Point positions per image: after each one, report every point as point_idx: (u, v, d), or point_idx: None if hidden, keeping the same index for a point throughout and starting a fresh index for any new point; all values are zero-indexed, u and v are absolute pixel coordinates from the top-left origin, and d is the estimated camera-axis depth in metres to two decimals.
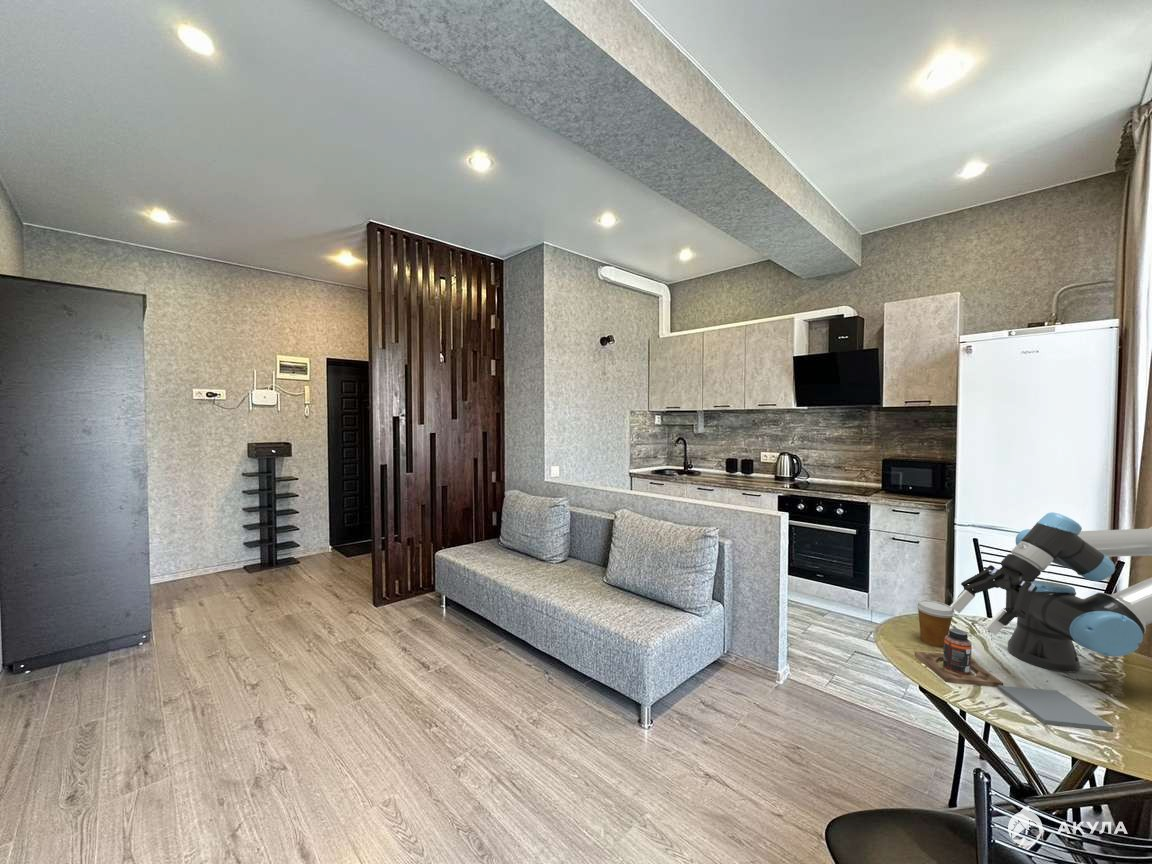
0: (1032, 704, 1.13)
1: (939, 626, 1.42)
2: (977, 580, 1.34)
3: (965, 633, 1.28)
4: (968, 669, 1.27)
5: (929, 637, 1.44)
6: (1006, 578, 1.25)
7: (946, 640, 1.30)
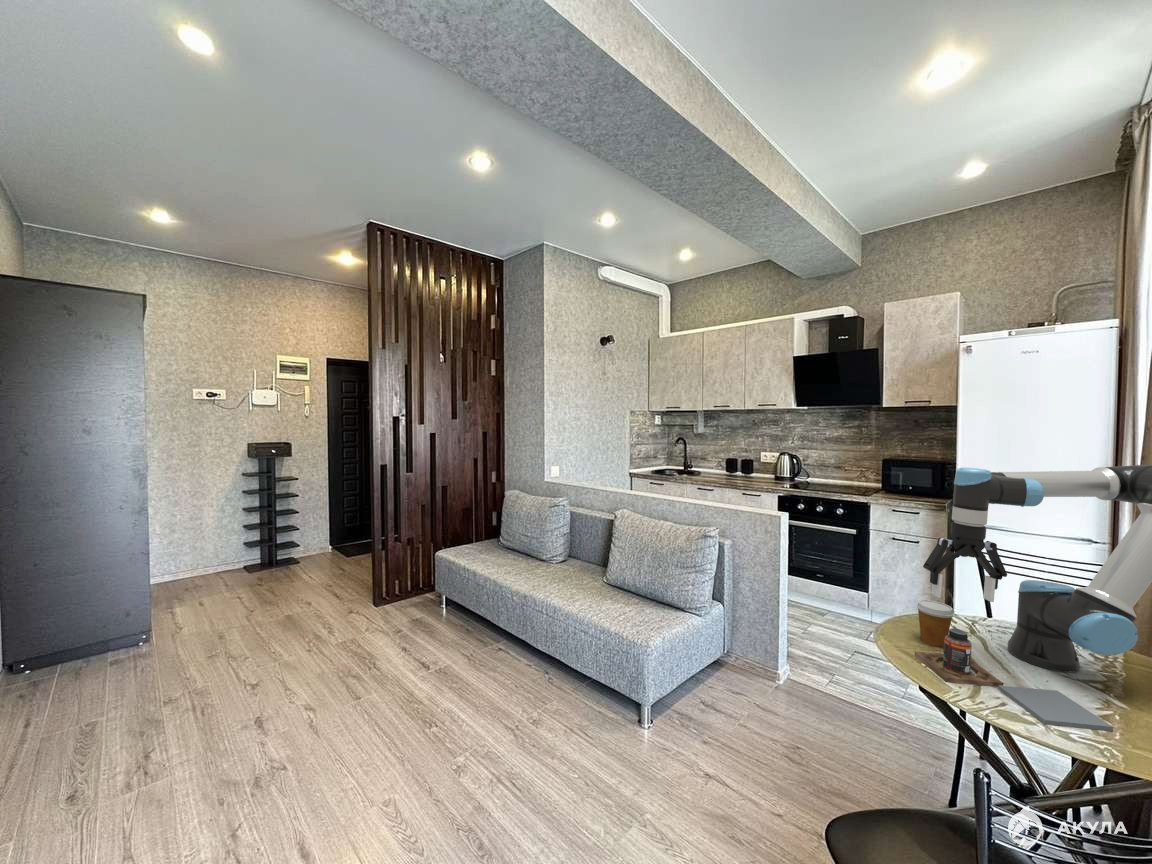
0: (1032, 704, 1.13)
1: (939, 626, 1.42)
2: (993, 561, 1.28)
3: (965, 633, 1.28)
4: (968, 669, 1.27)
5: (929, 637, 1.44)
6: None
7: (946, 640, 1.30)
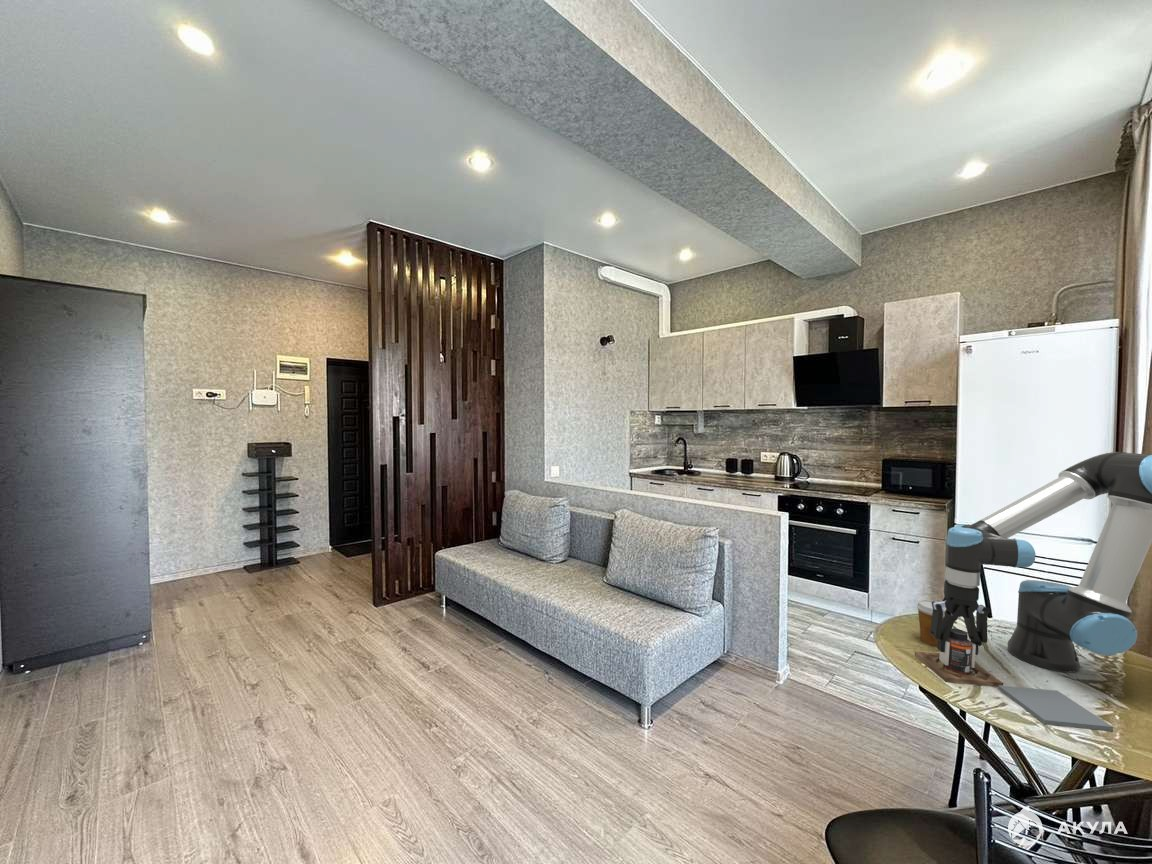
0: (1032, 704, 1.13)
1: None
2: (978, 625, 1.29)
3: (965, 633, 1.28)
4: (968, 669, 1.27)
5: (929, 637, 1.44)
6: None
7: None
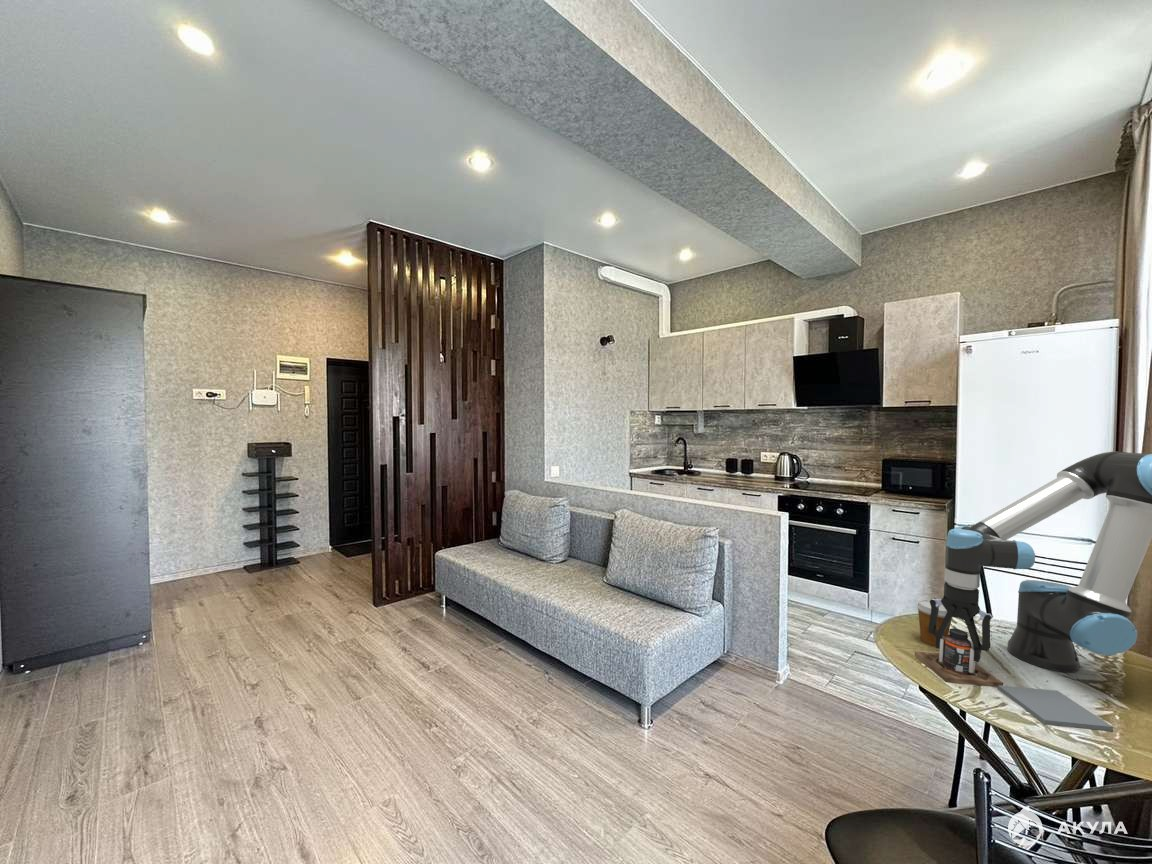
0: (1032, 704, 1.13)
1: (939, 626, 1.42)
2: None
3: (962, 633, 1.28)
4: (960, 669, 1.27)
5: (929, 637, 1.44)
6: None
7: (945, 637, 1.32)
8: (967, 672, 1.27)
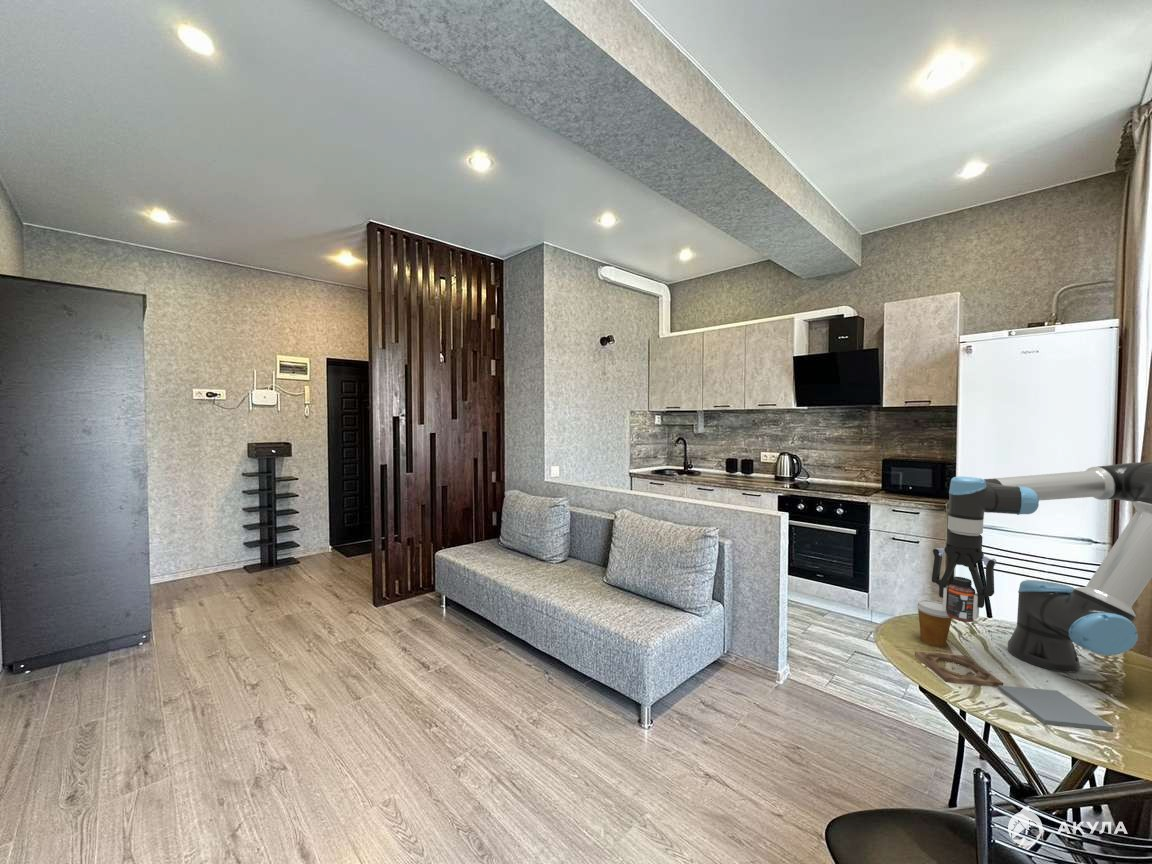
0: (1032, 704, 1.13)
1: (939, 626, 1.42)
2: None
3: (966, 580, 1.27)
4: (964, 616, 1.26)
5: (929, 637, 1.44)
6: None
7: (948, 586, 1.31)
8: (971, 619, 1.26)
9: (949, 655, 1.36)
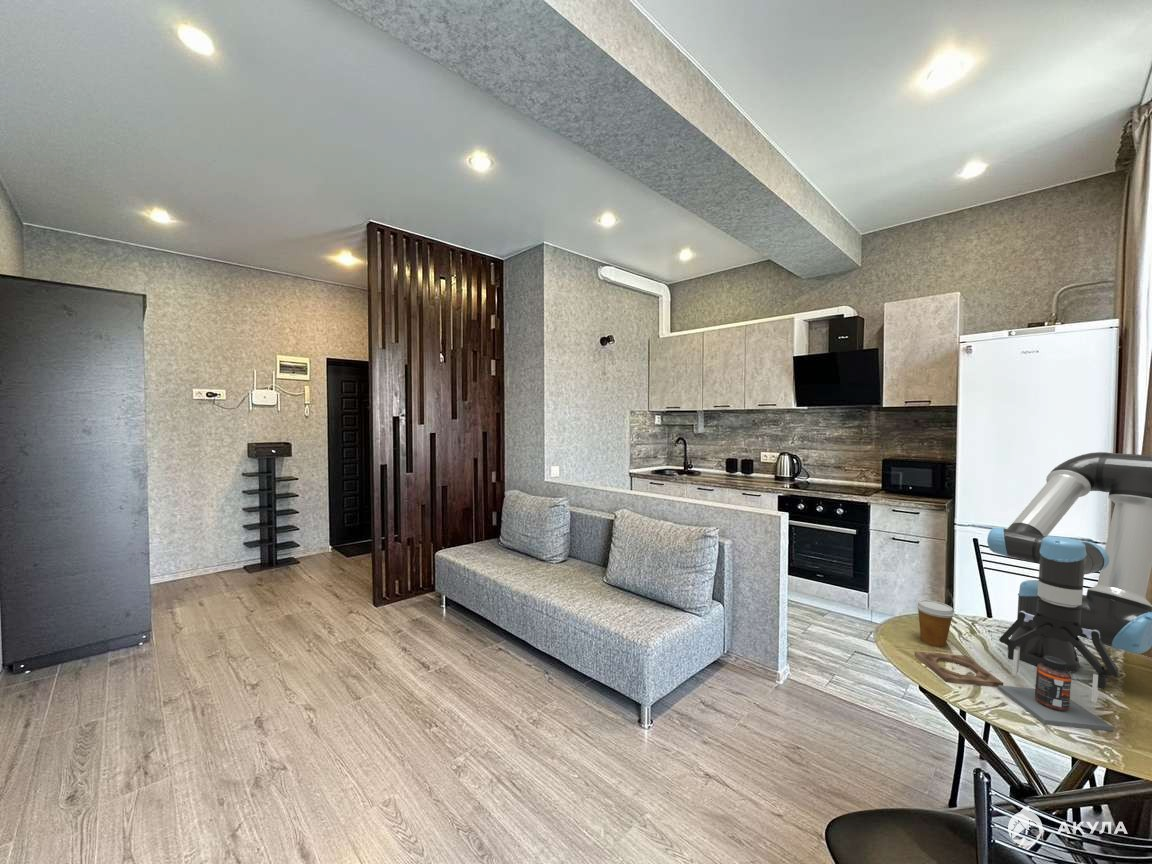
0: (1032, 704, 1.13)
1: (939, 626, 1.42)
2: None
3: (1060, 663, 1.11)
4: (1059, 703, 1.11)
5: (929, 637, 1.44)
6: None
7: (1037, 666, 1.15)
8: (1066, 707, 1.10)
9: (949, 655, 1.36)
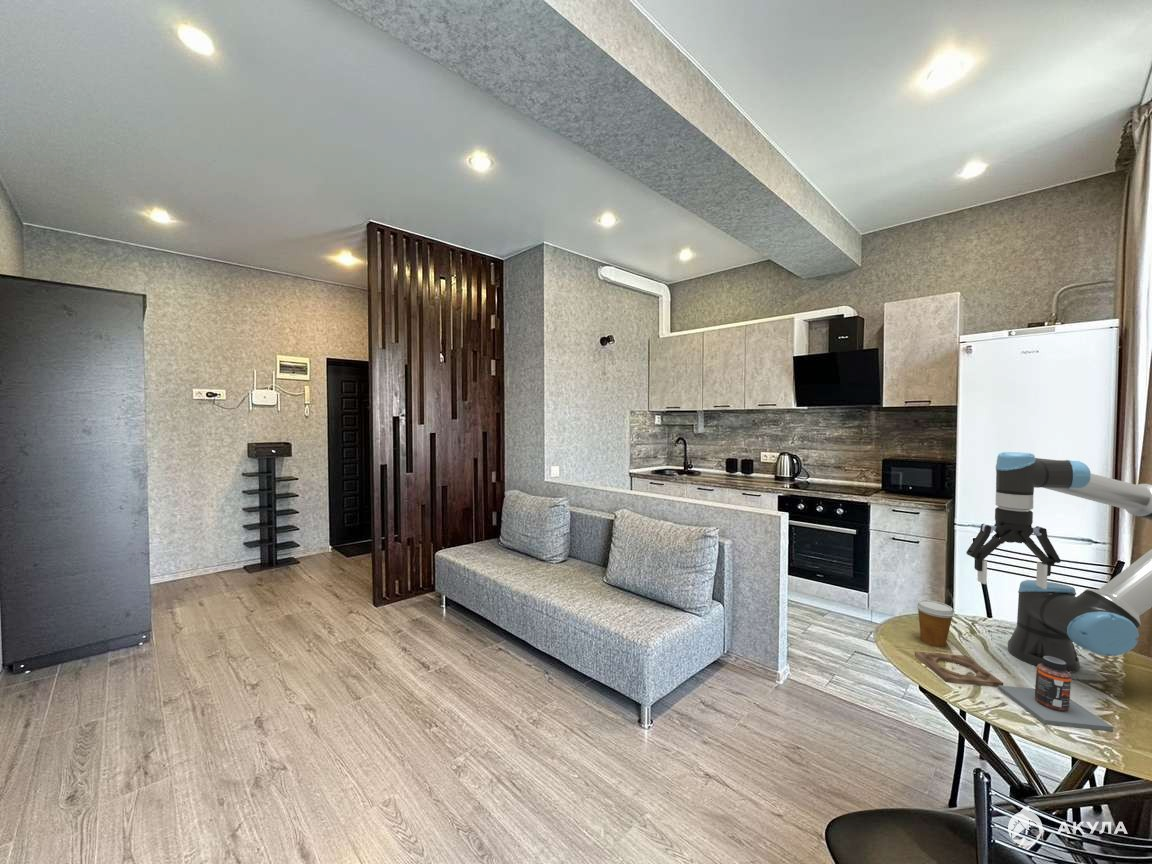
0: (1032, 704, 1.13)
1: (939, 626, 1.42)
2: (1044, 547, 1.25)
3: (1060, 663, 1.11)
4: (1059, 704, 1.10)
5: (929, 637, 1.44)
6: None
7: (1037, 666, 1.15)
8: (1066, 707, 1.10)
9: (949, 655, 1.36)
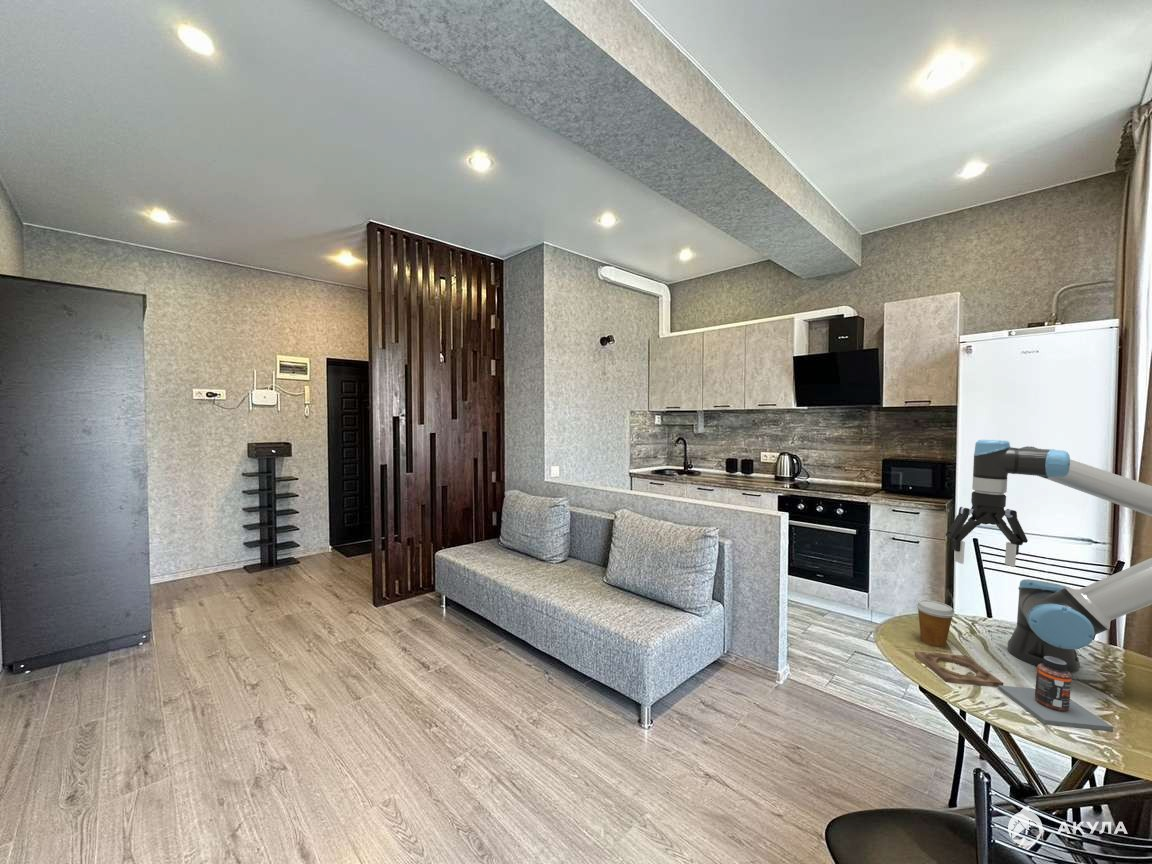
0: (1032, 704, 1.13)
1: (939, 626, 1.42)
2: (1013, 528, 1.34)
3: (1061, 663, 1.11)
4: (1059, 704, 1.10)
5: (929, 637, 1.44)
6: None
7: (1037, 666, 1.15)
8: (1067, 707, 1.10)
9: (949, 655, 1.36)
